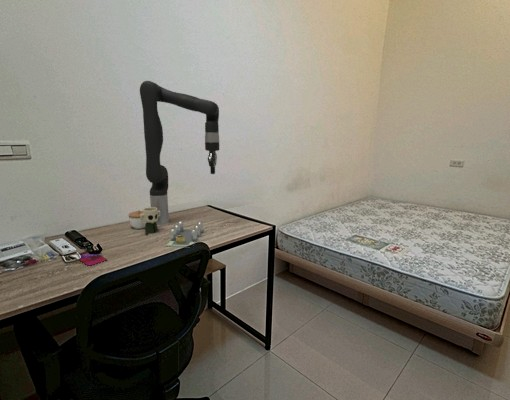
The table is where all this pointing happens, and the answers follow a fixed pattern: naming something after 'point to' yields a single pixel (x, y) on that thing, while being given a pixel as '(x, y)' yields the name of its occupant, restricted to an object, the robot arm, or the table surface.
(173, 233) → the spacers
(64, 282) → the table surface
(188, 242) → the mat
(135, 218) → the lidded jar
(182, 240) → the nut
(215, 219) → the table surface
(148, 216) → the character mug
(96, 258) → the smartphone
